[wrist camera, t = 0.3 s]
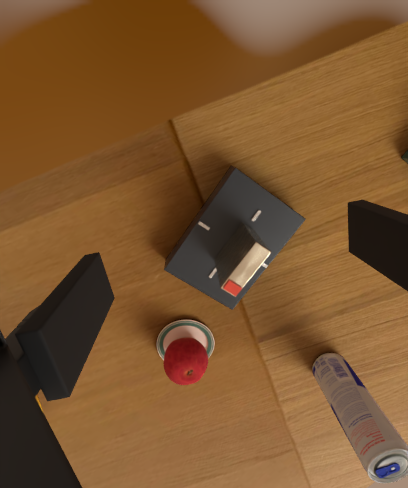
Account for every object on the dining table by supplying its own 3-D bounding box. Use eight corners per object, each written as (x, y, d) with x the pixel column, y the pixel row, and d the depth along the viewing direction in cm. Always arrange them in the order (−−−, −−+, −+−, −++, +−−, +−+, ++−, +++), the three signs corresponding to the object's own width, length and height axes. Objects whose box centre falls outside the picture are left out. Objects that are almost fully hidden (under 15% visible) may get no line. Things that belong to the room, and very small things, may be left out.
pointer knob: (242, 221, 33) (257, 242, 26) (254, 230, 33) (272, 253, 26) (213, 259, 34) (220, 289, 27) (226, 267, 34) (236, 298, 28)
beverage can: (317, 382, 45) (377, 492, 31) (304, 359, 43) (361, 464, 29) (348, 367, 44) (423, 473, 30) (336, 343, 43) (410, 444, 29)
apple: (213, 316, 40) (218, 347, 34) (214, 363, 43) (219, 400, 37) (154, 319, 40) (148, 352, 34) (159, 366, 42) (154, 405, 36)
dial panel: (231, 165, 34) (235, 167, 31) (296, 213, 36) (306, 219, 33) (165, 259, 37) (163, 270, 34) (229, 297, 39) (232, 310, 36)
